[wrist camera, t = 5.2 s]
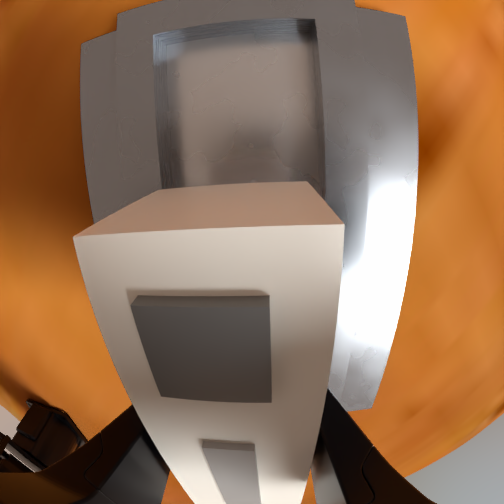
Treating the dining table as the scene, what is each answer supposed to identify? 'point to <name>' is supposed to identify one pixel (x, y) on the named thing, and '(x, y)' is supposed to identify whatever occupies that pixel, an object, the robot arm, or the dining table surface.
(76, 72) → the dining table surface
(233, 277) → the white rectangular block
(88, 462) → the robot arm
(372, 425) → the dining table surface
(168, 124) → the mount plate
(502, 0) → the dining table surface
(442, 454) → the dining table surface
